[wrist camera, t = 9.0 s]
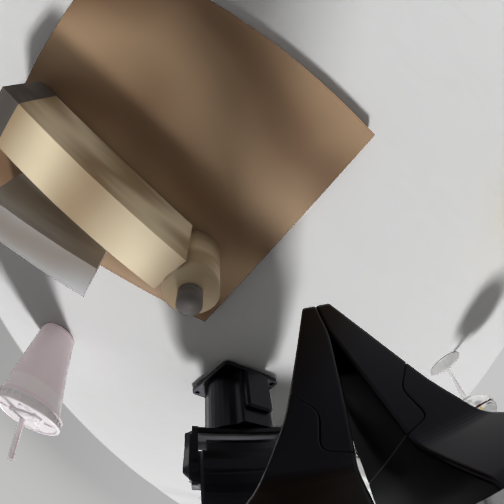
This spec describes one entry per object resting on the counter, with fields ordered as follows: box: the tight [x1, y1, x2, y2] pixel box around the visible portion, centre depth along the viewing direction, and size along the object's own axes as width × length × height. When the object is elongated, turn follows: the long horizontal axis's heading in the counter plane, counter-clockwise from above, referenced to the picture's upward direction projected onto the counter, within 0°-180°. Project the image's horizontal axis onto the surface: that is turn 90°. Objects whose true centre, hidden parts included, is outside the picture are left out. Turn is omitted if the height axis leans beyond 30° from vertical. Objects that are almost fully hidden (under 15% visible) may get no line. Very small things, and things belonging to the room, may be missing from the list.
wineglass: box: [431, 352, 497, 412], centre depth 29 cm, size 7×7×12 cm
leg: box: [0, 82, 220, 314], centre depth 15 cm, size 17×3×4 cm, turn 40°
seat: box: [0, 0, 374, 322], centre depth 14 cm, size 18×20×6 cm
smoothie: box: [0, 323, 74, 461], centre depth 18 cm, size 6×6×14 cm
